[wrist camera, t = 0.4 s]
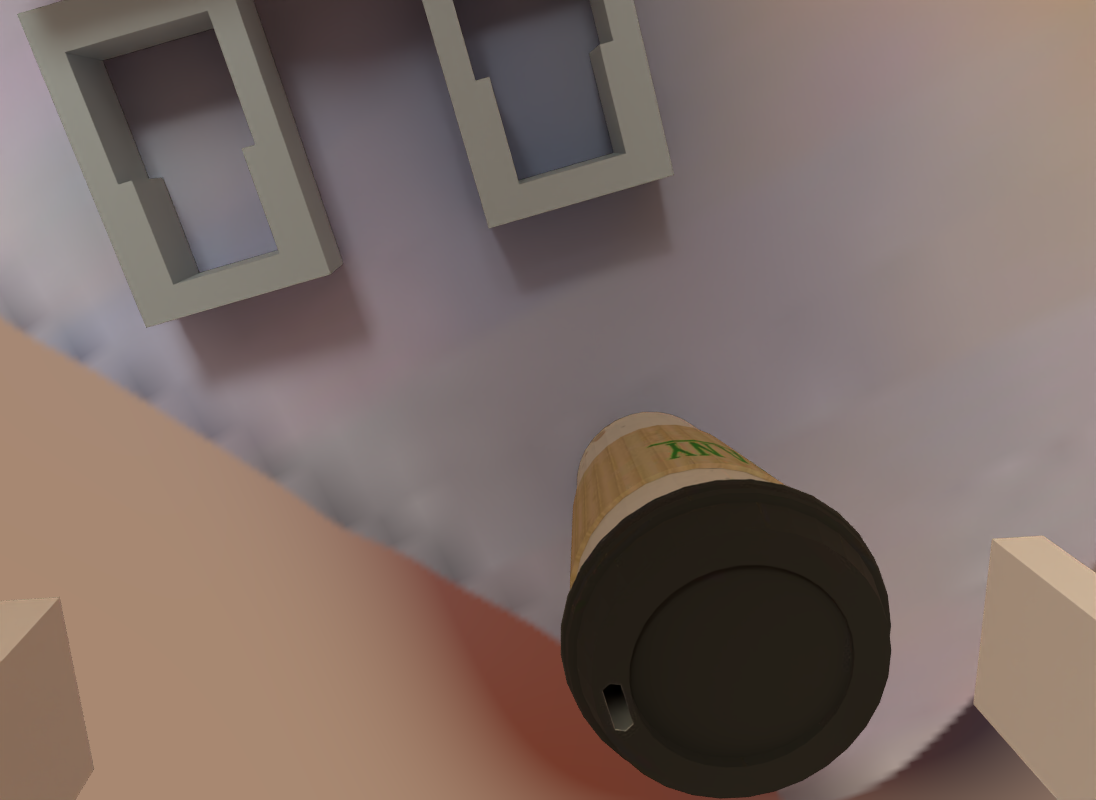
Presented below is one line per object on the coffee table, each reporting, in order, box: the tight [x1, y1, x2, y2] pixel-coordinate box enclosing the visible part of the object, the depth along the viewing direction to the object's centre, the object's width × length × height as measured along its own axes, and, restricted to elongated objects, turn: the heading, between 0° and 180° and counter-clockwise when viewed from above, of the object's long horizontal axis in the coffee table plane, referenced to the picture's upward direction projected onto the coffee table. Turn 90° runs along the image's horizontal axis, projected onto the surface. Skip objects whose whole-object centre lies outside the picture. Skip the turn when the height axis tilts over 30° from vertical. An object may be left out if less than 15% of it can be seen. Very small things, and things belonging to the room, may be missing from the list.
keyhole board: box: [17, 0, 674, 328], centre depth 33 cm, size 11×20×3 cm, turn 106°
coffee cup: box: [561, 412, 891, 798], centre depth 33 cm, size 10×10×15 cm
